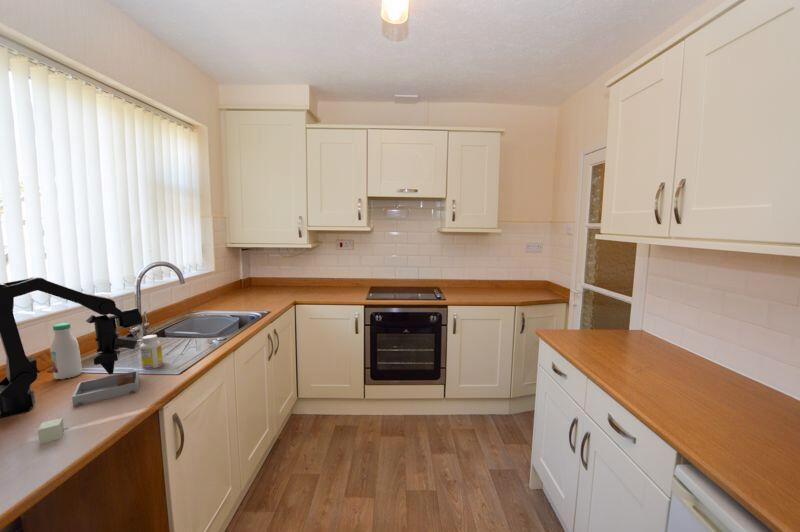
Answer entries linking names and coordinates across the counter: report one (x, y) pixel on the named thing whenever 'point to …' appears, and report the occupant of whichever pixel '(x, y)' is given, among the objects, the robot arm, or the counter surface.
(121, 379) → the walnut block
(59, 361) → the milk bottle
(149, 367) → the supplement bottle
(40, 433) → the sage block
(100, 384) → the grey shallow tray
